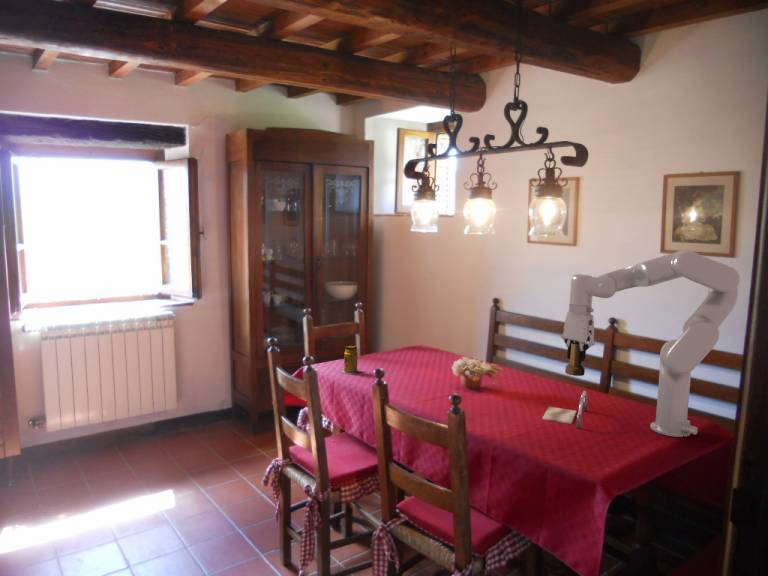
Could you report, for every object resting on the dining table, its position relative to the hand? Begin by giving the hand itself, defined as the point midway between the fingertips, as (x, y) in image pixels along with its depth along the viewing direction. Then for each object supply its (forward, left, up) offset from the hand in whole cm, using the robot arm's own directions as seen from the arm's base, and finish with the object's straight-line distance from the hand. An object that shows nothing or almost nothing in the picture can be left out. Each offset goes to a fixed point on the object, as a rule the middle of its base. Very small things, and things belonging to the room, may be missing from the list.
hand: (575, 359), depth 207 cm
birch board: (+4, +2, -22) cm, 22 cm away
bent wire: (-3, -2, -22) cm, 22 cm away
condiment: (+94, +37, -22) cm, 103 cm away
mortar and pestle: (0, 0, -5) cm, 5 cm away
